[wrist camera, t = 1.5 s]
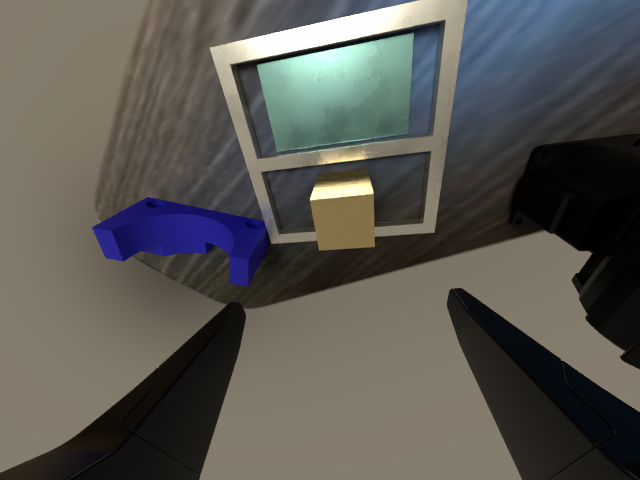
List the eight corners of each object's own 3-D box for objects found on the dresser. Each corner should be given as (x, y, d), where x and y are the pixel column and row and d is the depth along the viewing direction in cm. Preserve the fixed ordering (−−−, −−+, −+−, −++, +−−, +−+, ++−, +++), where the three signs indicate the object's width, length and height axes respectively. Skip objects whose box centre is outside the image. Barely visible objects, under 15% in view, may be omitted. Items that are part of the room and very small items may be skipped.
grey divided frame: (461, -5, 13) (469, -11, 12) (430, 226, 21) (434, 232, 20) (217, 49, 15) (209, 47, 14) (274, 238, 23) (271, 243, 22)
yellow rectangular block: (367, 167, 19) (373, 193, 14) (368, 211, 21) (374, 246, 16) (318, 173, 19) (309, 200, 15) (325, 215, 21) (319, 250, 17)
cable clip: (158, 234, 25) (111, 271, 20) (149, 196, 22) (91, 227, 17) (267, 256, 25) (248, 298, 20) (270, 221, 22) (248, 259, 18)
